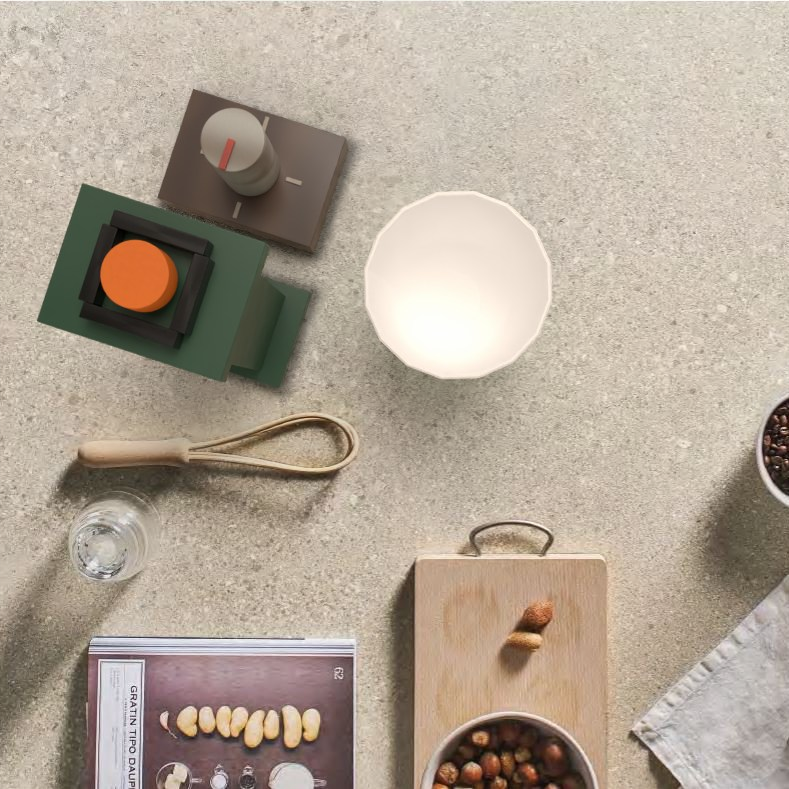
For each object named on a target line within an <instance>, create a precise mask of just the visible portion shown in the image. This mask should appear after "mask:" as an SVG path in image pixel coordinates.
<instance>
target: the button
mask: <svg viewBox="0 0 789 789" xmlns="http://www.w3.org/2000/svg"><path fill="white" fill-rule="evenodd" d="M100 277H101V283H102V286H103V289H104V291H105V293H106V294H107V295H108V297H109V298H110V299H111V300H112V301H113V302H115V303H116V304H118V305H120V306H122V307H125V308H128V309H131V310H134V311H137V312H152V311H155V310H158V309H160V308H162V307H163V306H165V305H166V304H167V303H168V302H169V301H170V300H171V298H172V297H173V295H174V293H175V291H176V288H177V283H178V275H177V270H176V267H175V264H174V263H173V261H172V259H171V258H170V257H169V256H168V255H167V254H166V253H165V252H163V251H162V250H160V249H159V248H157V247H155V246H154V245H152V244H150V243H148V242H145V241H142V240H129V241H125V242H122V243H120V244H118V245H116V246H115V247H114V248H112V249H111V250H110V251H109V252H108V254H107V255H106V257H105V258H104V260H103V263H102V266H101V272H100Z"/></svg>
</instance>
